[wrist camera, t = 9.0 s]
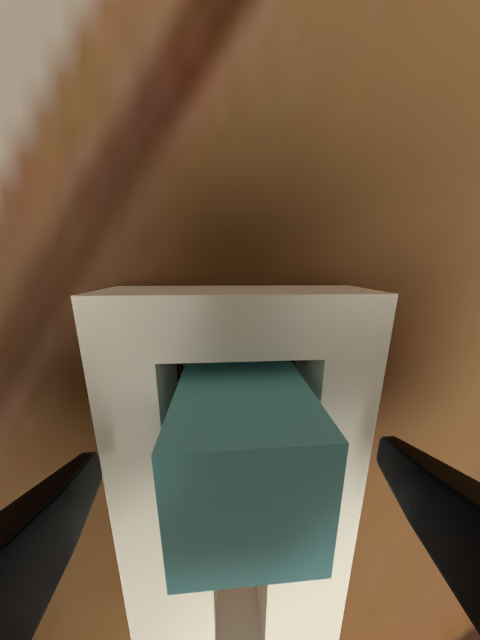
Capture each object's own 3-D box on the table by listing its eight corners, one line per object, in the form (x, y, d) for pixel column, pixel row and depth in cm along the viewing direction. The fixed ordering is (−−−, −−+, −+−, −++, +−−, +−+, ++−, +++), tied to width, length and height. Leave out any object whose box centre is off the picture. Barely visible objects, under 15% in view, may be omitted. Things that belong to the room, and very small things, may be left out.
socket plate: (157, 606, 14) (140, 693, 11) (117, 286, 9) (70, 295, 7) (312, 590, 15) (333, 669, 12) (348, 285, 10) (398, 293, 7)
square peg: (195, 427, 11) (167, 595, 6) (190, 348, 10) (150, 455, 5) (277, 423, 12) (330, 578, 6) (280, 346, 11) (349, 443, 5)
